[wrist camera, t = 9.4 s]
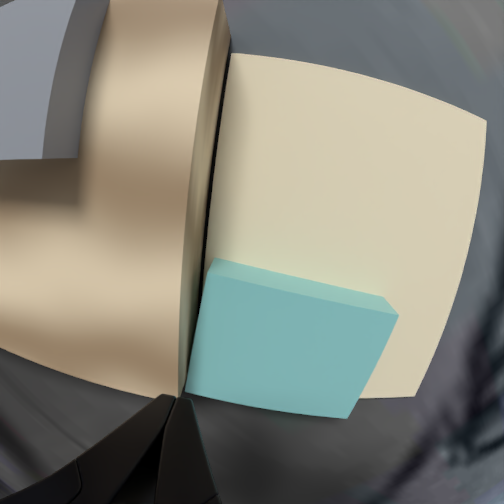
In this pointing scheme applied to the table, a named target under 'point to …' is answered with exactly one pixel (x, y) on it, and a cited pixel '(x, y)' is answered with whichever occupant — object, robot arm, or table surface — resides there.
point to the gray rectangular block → (45, 75)
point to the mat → (349, 194)
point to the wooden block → (120, 207)
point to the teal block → (285, 341)
